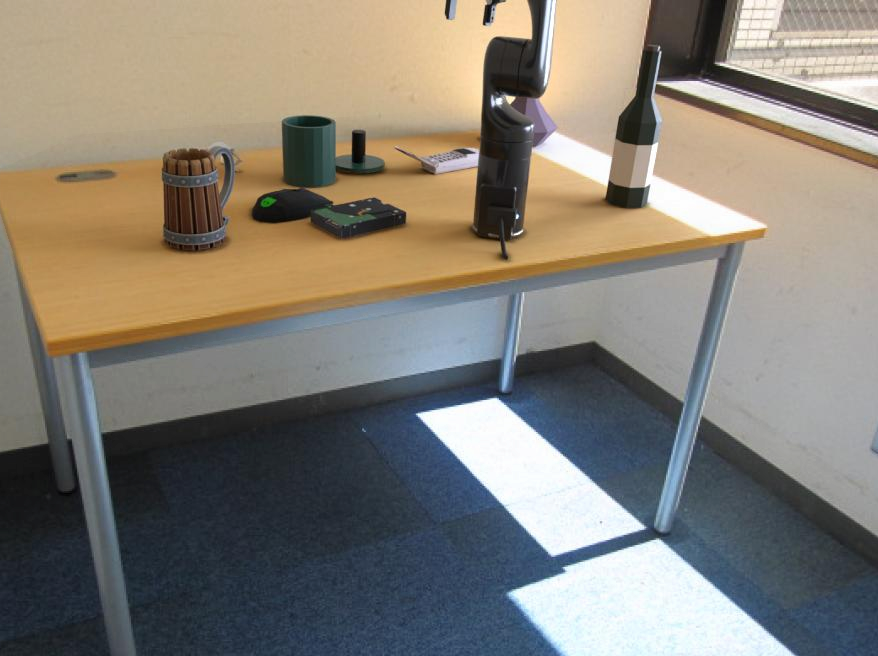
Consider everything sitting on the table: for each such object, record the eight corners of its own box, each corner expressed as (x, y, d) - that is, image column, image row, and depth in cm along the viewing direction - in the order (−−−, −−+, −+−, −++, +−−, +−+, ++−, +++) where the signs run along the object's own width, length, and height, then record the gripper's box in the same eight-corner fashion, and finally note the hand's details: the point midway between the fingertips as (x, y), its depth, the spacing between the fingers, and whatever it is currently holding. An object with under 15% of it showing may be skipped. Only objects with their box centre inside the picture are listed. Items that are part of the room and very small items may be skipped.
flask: (486, 148, 213) (494, 60, 203) (491, 132, 227) (499, 49, 217) (555, 153, 211) (566, 65, 201) (556, 137, 225) (567, 53, 215)
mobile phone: (392, 145, 189) (481, 131, 202) (391, 173, 192) (479, 157, 205) (408, 153, 185) (498, 138, 198) (407, 180, 188) (496, 164, 201)
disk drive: (373, 210, 171) (309, 223, 163) (373, 196, 169) (309, 209, 161) (407, 226, 164) (341, 240, 156) (407, 211, 163) (342, 225, 154)
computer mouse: (234, 212, 167) (233, 191, 165) (300, 194, 177) (299, 174, 175) (274, 227, 160) (273, 206, 158) (339, 208, 171) (339, 187, 169)
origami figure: (246, 176, 187) (245, 152, 184) (206, 178, 184) (204, 154, 182) (236, 160, 196) (235, 138, 194) (198, 162, 194) (196, 139, 191)
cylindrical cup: (325, 189, 181) (325, 130, 174) (275, 183, 183) (273, 124, 177) (342, 175, 190) (342, 118, 183) (294, 170, 192) (293, 113, 186)
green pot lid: (376, 178, 189) (377, 140, 185) (324, 172, 191) (324, 134, 187) (390, 164, 198) (391, 127, 194) (341, 158, 201) (341, 122, 197)
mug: (197, 257, 147) (189, 167, 139) (150, 243, 151) (141, 155, 144) (257, 231, 158) (254, 147, 150) (213, 219, 163) (207, 137, 155)
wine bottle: (647, 210, 177) (677, 50, 161) (605, 206, 178) (631, 47, 163) (645, 197, 184) (674, 43, 168) (605, 193, 185) (630, 40, 170)
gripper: (437, -75, 167) (427, 17, 175) (502, -69, 160) (489, 27, 168) (459, -72, 173) (448, 18, 180) (522, -66, 166) (508, 27, 173)
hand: (468, 22), depth 174 cm, fingers open, 8 cm apart
